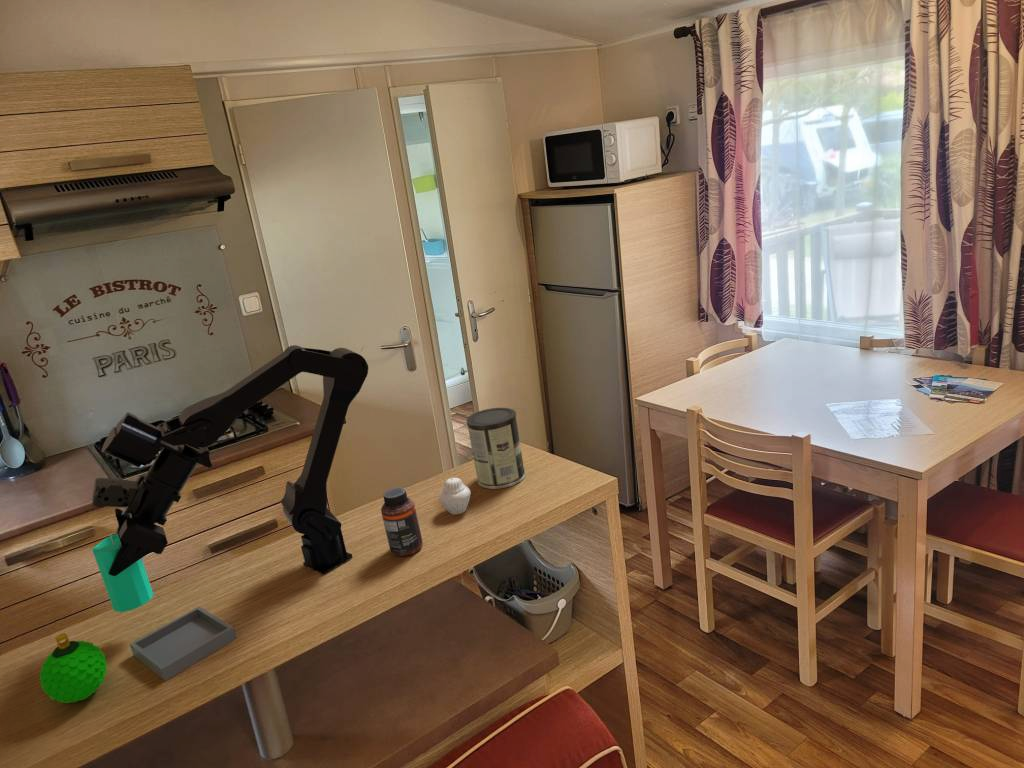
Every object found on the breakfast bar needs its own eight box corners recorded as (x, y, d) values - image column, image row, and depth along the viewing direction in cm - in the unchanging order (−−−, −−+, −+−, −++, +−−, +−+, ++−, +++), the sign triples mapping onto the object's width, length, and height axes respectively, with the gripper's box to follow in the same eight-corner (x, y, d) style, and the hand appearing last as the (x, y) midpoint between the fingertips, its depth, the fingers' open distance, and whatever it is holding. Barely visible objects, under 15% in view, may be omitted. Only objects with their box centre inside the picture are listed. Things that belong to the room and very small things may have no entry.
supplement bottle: (410, 537, 137) (398, 481, 134) (430, 546, 133) (418, 488, 130) (383, 552, 134) (371, 495, 130) (403, 561, 129) (390, 502, 126)
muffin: (435, 513, 146) (429, 480, 144) (460, 500, 149) (455, 468, 147) (454, 521, 141) (448, 487, 139) (479, 508, 145) (474, 475, 143)
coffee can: (500, 465, 164) (490, 404, 160) (535, 473, 157) (526, 410, 153) (466, 483, 157) (455, 421, 153) (501, 493, 150) (490, 428, 146)
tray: (202, 616, 122) (199, 606, 121) (236, 638, 114) (233, 626, 114) (133, 655, 114) (129, 644, 113) (165, 681, 106) (161, 669, 106)
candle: (143, 586, 122) (120, 520, 118) (160, 595, 118) (137, 528, 115) (106, 605, 118) (81, 538, 114) (122, 616, 114) (98, 546, 110)
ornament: (106, 669, 111) (86, 611, 108) (120, 693, 105) (99, 632, 102) (46, 698, 107) (22, 639, 104) (56, 725, 100) (32, 663, 98)
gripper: (112, 442, 121) (58, 527, 119) (117, 475, 105) (55, 573, 103) (177, 470, 126) (127, 552, 125) (191, 506, 111) (134, 600, 109)
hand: (110, 567), depth 115 cm, fingers closed on candle, 5 cm apart
